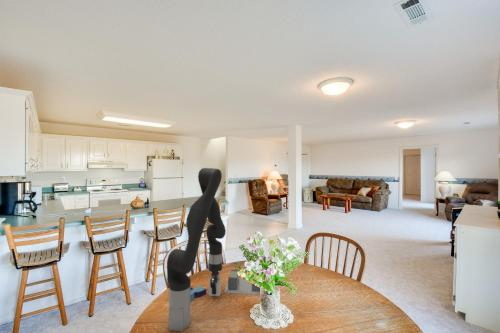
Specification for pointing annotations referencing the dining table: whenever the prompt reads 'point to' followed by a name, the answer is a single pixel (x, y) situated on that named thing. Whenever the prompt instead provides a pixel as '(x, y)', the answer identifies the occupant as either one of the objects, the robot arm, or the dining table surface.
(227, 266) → the dining table surface
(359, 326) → the dining table surface
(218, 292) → the module
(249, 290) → the rail board
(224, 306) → the dining table surface
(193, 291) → the pistol
